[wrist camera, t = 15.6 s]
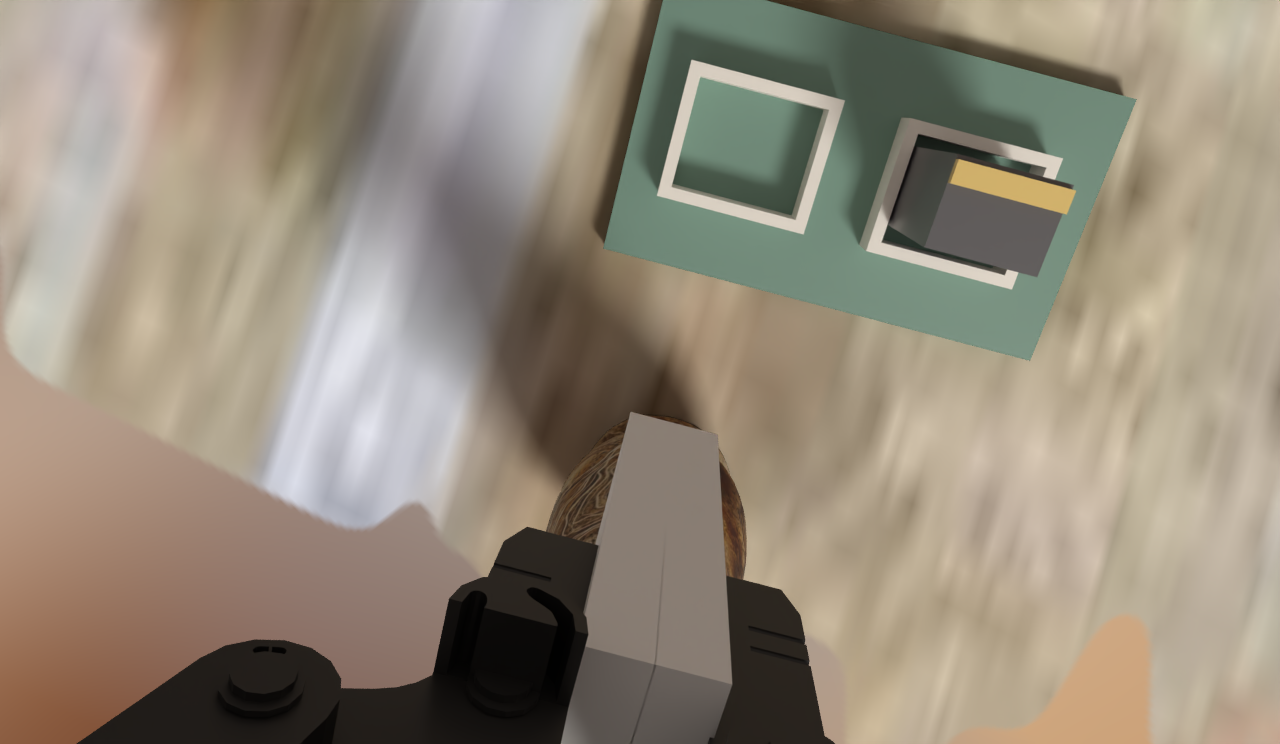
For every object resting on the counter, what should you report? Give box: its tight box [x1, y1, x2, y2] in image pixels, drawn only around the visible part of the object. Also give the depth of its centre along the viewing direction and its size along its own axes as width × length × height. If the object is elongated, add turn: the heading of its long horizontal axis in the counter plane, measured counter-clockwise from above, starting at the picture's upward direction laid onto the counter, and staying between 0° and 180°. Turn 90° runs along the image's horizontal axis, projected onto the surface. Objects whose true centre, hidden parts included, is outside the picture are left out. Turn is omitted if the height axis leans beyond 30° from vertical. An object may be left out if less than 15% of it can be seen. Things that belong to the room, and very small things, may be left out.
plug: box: [888, 146, 1076, 277], centre depth 40 cm, size 5×4×9 cm
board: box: [603, 0, 1137, 361], centre depth 45 cm, size 24×14×3 cm, turn 76°
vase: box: [546, 415, 747, 580], centre depth 38 cm, size 10×11×30 cm
